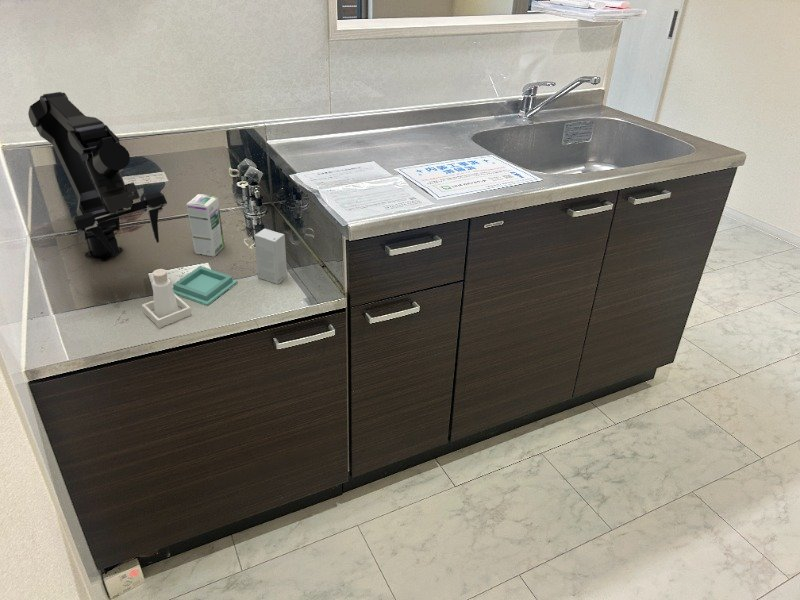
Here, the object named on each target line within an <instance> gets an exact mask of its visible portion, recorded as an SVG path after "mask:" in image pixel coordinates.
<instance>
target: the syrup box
mask: <svg viewBox="0 0 800 600" xmlns="http://www.w3.org/2000/svg"><path fill="white" fill-rule="evenodd" d="M186 209H187V210H186V211H187V215H188V220H189V226H190V232H191V233H190V234H191V239H192V244H193V249H194V251H193V252H194V254H197V255H200V254H202V255H203V256H206V255H207V257H212V258H213V257H216V256H217V255H218V254H219V252H220V251H221V250H222V249H223V248H224V247H225V242H224V240H225V239H224V232H223V226H222V218H221V211H220V203H219V198H218V196H215V195H214V196H213V195H211V194H210V195H209V194H202V193H201V194H200V193H198V194H197V193H196V196H194V197H193V198H192V199H190V200H189V201H188V202H187V203H186Z"/></svg>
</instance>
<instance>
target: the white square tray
mask: <svg viewBox="0 0 800 600" xmlns="http://www.w3.org/2000/svg"><path fill="white" fill-rule="evenodd" d="M174 295H175V298H176V301H177V304H178V307H179V306H180V307H179V308H180V309H179V311H177V312H174V313H172V314H169V315H167V316H164V317H162V318H158V317H157V316H156V315H155V312H153V311H155V310H154V299H153V300H151V301H147V302H145V303H142V304H141V306H142V311H143V313H144V314H145V316H146V317H148V318H149V319H150V320H151V321H152V322H153V323H154V325H156V327H158V328H159V329H161V328H163V327H165V325H166V326H168V325H170V323H171V324H172V323H175V322H178V321H180V320H182V318H183V319H185V318H188V317H189V316H192V310H191V307H190V306H189V305H188V304H187V303H186V302H185V301H184V300H183V299H181V298H180V296H178V295H176V294H175V293H174ZM187 316H188V317H187ZM184 317H185V318H184ZM179 319H180V320H179ZM177 320H178V321H177Z"/></svg>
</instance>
